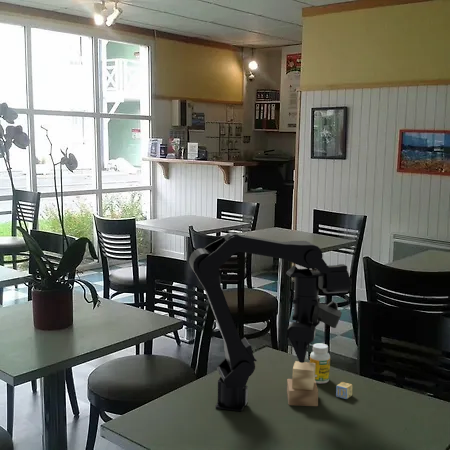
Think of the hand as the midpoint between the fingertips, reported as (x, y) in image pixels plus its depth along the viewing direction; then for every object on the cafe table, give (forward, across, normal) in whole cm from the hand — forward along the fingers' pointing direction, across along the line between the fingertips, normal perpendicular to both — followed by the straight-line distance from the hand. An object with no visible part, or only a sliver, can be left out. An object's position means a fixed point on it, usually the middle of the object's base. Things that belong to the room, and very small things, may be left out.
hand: (304, 355), depth 142 cm
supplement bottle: (+12, +13, -3) cm, 18 cm away
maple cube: (+8, 0, 0) cm, 8 cm away
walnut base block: (+12, 0, 0) cm, 12 cm away
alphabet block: (+12, +5, -10) cm, 16 cm away
